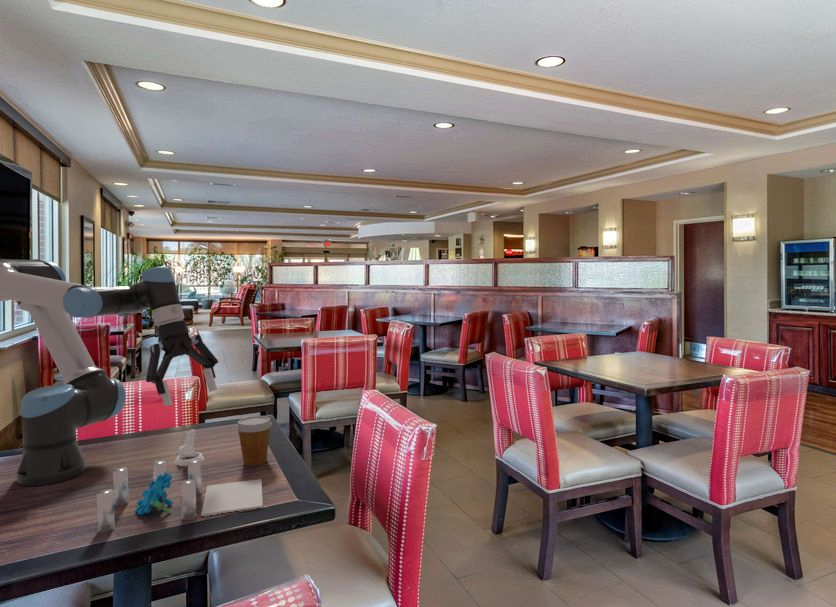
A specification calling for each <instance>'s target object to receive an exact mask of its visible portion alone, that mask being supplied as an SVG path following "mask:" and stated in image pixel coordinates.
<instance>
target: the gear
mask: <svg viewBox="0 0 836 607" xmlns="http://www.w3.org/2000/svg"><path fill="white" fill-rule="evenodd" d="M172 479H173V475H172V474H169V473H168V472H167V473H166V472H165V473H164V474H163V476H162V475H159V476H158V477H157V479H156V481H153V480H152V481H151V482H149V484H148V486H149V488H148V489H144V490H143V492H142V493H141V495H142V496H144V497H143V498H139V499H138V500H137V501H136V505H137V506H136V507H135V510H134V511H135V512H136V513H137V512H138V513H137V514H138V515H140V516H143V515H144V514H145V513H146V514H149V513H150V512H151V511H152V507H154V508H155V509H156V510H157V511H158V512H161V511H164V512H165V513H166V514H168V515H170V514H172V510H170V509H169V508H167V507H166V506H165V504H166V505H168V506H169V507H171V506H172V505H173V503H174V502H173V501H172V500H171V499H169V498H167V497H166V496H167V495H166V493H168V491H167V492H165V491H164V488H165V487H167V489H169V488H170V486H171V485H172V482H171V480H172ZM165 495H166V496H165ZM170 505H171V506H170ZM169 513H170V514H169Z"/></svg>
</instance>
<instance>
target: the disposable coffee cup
mask: <svg viewBox="0 0 836 607" xmlns="http://www.w3.org/2000/svg"><path fill="white" fill-rule="evenodd" d="M271 426H272V421H271V418H270V417H268V416H263V415H262V416H259V415H258V416H257V415H256V416H249V417H244V418H241V419H240V420H238V421H237V425H236V429H237V431H238V437H239V443H240V449H241V455H242V461H243V465H245V466H247V467H248V466H249V467H252V466H253V467H254V466H255V465H256V466H261V465H263V464H265V463H267V460H268V450H269V442H270V440H269V439H270V431H271Z"/></svg>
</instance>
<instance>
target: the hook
mask: <svg viewBox="0 0 836 607" xmlns="http://www.w3.org/2000/svg"><path fill="white" fill-rule="evenodd" d="M195 434H196V431H195V429H190V430H188V431H186V433H185V438H184V444H183V445H180V446H179V447H178V449H177V452H178V454H179V455H178V456H177V457H176V458H175V461H174V465H175V464H176V465H175V466H177V465H179V466H178V467H188V466H187V465H188V461H190V460H195V459H199V460H201V463H202V462H203V461H204V459H205V458H204V456H203V454H202V453H201V452H199V451H195V449H194V445H193V444H194V439H195ZM186 457H188V458H186Z"/></svg>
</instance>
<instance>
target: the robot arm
mask: <svg viewBox="0 0 836 607" xmlns="http://www.w3.org/2000/svg"><path fill="white" fill-rule="evenodd" d="M10 300H11V301H15V302H16V304H17V305H18V307H19V309H20V310H22V311H25V312H29V315H30V317H31V319H32V321H33V323H34V324H35V327H36V328H37V329H36V330H38V333H39V334H40V336H41V339H42V340H43V342H44V343H45V344H44V345H45V346H46V348H47V350H48V352H49V353H50V356H51V358H52V360H53V361H54V363H55V365H56V368H57V369H58V372H59V373H60V375H61V377H62V379H63V383H57V384H53V385H46V386H41V387H39V388H35V389H34V390H30V391H29V392H27V393H26V394H24V395H23V397H22V398H21V402H20V403H21V404H20V412H19V414H20V416H21V428H22V430H21V431H22V446H23V447H22V448H23V450H22V451H23V452H22V455H21V457H20V461H19V464H18V467H17V470H16V474H15V475H16V476H15V477H16V483H17V484H18V485H20V486H24V487H26V486H27V487H28V486H29V487H32V486H33V487H34V486H45V485H52V484H56V483H60V482H63V481H64V482H65V481H67V480H70V479H73V478H75V477H77V476H79V475H81V474H82V473H83V472H85V471H86V469H87V468H86V458H85V456H84V454H83V452H82V451H81V450H82V449H81V448H80V446H79V444H78V441H77V429H80V428H84V427H86V426H90V425H93V424H94V425H95V424H96V423H99V422H104V421H107V420H109V419H111V418H114V417H116V416H117V415H119V414H120V412H122V410H123V409H124V407H125V402H126V398H127V397H126V396H127V395H126V390H125V386H124V385H123V383H122V382H121V380H119V379H117V378H113V377H109V376H108V374H107V372H106V371H105V369H103V368H98V367H97V365H95V362H94V360H93V359H92V357H91V355H90V353H89V351H88V348H87V347H86V345H85V343H84V341H83V339H82V337H81V335H80V334H79V332H78V330H77V328H76V325H75V324H74V322H73V320H72V318H76V319H77V318H84V319H86V318H87V319H89V318H93V317H102V316H114V315H117V316H119V317H128V316H133V315H135V314H137V313H140V312H142V311H145V310H148V309H150V311H151V313H152V318H153V322H154V325H155V326H156V332H157V335H158V339H159V341H160V343H154V344H151V345H150V346H149V349H150V355H149V356H150V357H149V362H148V368H147V373H146V378H145V381H146V383H152V384H155V388H156V391H157V394H158V395H159V396H160V395H161V399H162V402H163V405H164V406H163V407H168V406H172V405H173V403H174V402H173V399H172V395H171V392H170V389H169V385H168V382H167V380H166V379H165V380H164V378H165V376H166V374H167V371H168V369H169V367H170V365H171V362H172V360H173V359H174V358H177V357H181V356H185V355H186V356H188V357H190V358H191V359H192V360H194V361H195V362H196V363H198V364H199V365H200V366H202V367H203V368H204V369H202V371H203V375H204V379H205V382H206V386H207V389H208V393H212V392H215V391H218V388H217V384H216V381H215V379H216V373H215V369H214V367H216V365H217V364H218V363H219V360H218V359H217V357H216V356H215V355H214V354H213V352H211V350H210V349H209V348H208V347H207V345H206V344H205V343H204V341H203V339H202V337H201V335H200V334H197V335H194V336H192V337H191V336H190V335H189V334H190V333H189V332H190V331H189V328H188V325H187V321H186V320H184V319H185V314H184V309H183V307H182V303H181V301H180V296H179V293H178V289H177V284H176V280H175V278H174V275H173V273H172V270H171V268H170V267H167V266H155V267H151V268H147V269H144V270H143V271H142V272H141V281H139V282H137V283H134V284H131V285H121V286H120V285H118V286H116V285H115V286H90V285H85V284H81V283H76V282H69V281H67V278H66V275H65V272H64V270H63V269H62V268H61V267H60V266H59V265H58V264H57V263H55V262H53V261H50V260H43V259H37V258H35V259H9V258H8V259H7V258H6V259H5V258H0V302H8V301H10ZM192 345H194V346H192ZM162 351H163V353H164V354H163V356H162V360H161V362H160V358H161V352H162ZM159 363H160V365H159Z"/></svg>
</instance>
